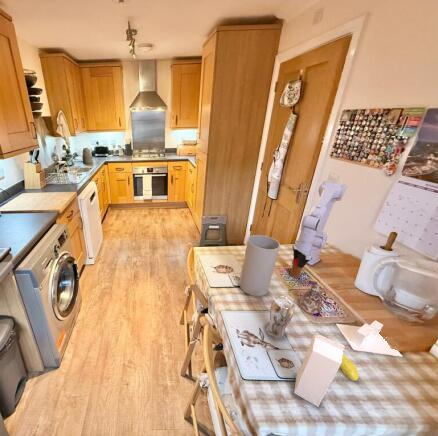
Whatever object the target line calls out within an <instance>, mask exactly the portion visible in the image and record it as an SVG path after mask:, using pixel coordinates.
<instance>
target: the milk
mask: <svg viewBox="0 0 438 436" xmlns="http://www.w3.org/2000/svg"><path fill="white" fill-rule="evenodd" d="M345 348H346V346H345V345H344V344H342V343H340V342H337V341H336V340H333V339H330V338H328V337H327V336H326V337H325V336H323V335H321V334H319V333H317V334H313V336H312V339H311V341H310V344H309V346H308V348H307V351H306V353H305V355H304V357H303V360H302V362H301V364H300V367H299V370H298V372H297V374H296V376H295V386H294V390H293V391H294V392H293V394H295V395H296V396H298V397H300V398H302V399H303V400H305V401H307V402H308V403H310V404H312V405H314V406H316V407H317V408H319V407H320V404H321V403H322V401H323V399H324V397H325V395H326V394H327V391H328V389H329V388H330V386H331V384H332V382H333V380H334V378H335V376H336V375H337V373H338V370H339V369H340V365H341V362H342V356H343V355H344V350H345Z"/></svg>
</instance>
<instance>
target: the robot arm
mask: <svg viewBox="0 0 438 436" xmlns="http://www.w3.org/2000/svg"><path fill="white" fill-rule="evenodd" d="M347 187H348V186H347V185H346V184H343V183H336V182H330V181H326V180H323V181H321V183H320V185H319V187H318V195H319V199H318V201H317V203H315V204H313V205H312V206H311V209H310V210H309V212H308V213H307V215H305V216H304V217H303V218H302V220H301V227H300V233H299V236H298V239H297V240H295V241H294V245H293V246H292V247H291V248H292V251H293V259H294V258H298V259H299V260H298V267H299V268H302V269H303V268H305V266H306V265H307V264H308V265H310V266H313V265H315V264H317V263H318V262H319V261H321V259H320V256H321V253H322V250H323V249H324V248H325V245H326V243H327V240H328V234H327V233H326V232H325V231H324V229H325V227H326V225H327V222H328V220H329V217H330V214H331V213H332V209H333V207H334V205H335V204H336V202H339V201H342V199H343V197H344V195H345V193H346V190H347Z"/></svg>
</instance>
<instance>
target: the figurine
mask: <svg viewBox="0 0 438 436" xmlns="http://www.w3.org/2000/svg"><path fill="white" fill-rule="evenodd" d="M323 291H324V289H323V287H322V286H321V285H320V284H318V281H313V284H312V285H311V286H310V289H309V290H306V291H305V292H304V293H303V295H302V297H301V298H300V300H299V307H300V308H302V310H304V311H305V312H306V313H309V314H312V315H313V314H319V313H320V310H321V308H322V303H323V300H324V299H323V296H322V293H323Z"/></svg>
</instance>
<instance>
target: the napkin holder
mask: <svg viewBox="0 0 438 436" xmlns="http://www.w3.org/2000/svg"><path fill="white" fill-rule="evenodd" d="M335 325H336V327H337V328H338V329H339V332H341V334H342V336H344V338H345V340H346V341H347V343H348V344H349V346H350V347H351V348H352V350H353V351H359V352H365V353H373V354H379V355H380V354H381V355H385V356H386V355H387V356H394V357H402V358H404V355H402V354H401V353H400V351H399V350H398V349H397V350H395V349H391V348H390V346H389V345H388V343H387V341H385V339H383V337H382V336H381V335H380V334H379V332H380V331H382V328H383V327H384V324H383V323H381V322H379V321H378V320H376V319H375V320H374V321H373V322H372V323H371V324H368V323H366V322H365V323H364V324H363V325H362V326H359V325H358V326H357V325H350V324H341V323H335Z"/></svg>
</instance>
